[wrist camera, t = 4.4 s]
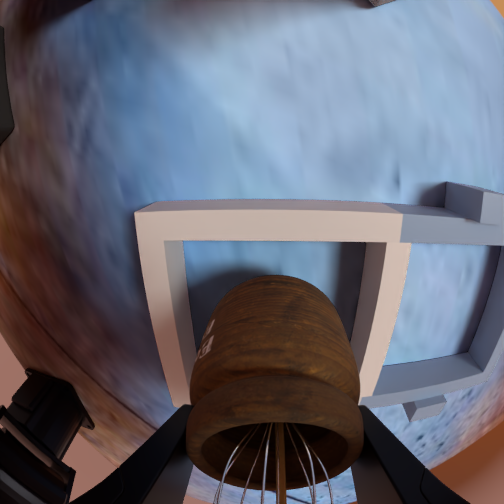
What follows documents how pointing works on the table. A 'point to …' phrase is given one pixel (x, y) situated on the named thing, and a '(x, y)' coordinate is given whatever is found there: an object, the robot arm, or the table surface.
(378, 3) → the vintage mobile phone
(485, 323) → the beige grey rectangular frame
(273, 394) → the utensil holder
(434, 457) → the table surface
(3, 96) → the dark ridged block
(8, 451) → the robot arm
